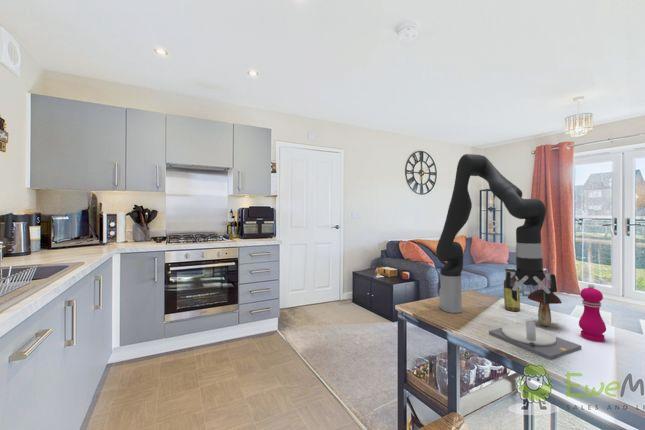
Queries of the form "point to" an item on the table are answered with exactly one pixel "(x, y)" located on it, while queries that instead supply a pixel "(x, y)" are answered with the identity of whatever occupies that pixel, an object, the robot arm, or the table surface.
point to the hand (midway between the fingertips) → (530, 302)
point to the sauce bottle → (508, 299)
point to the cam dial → (529, 334)
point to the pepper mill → (592, 315)
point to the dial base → (548, 352)
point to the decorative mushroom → (544, 306)
